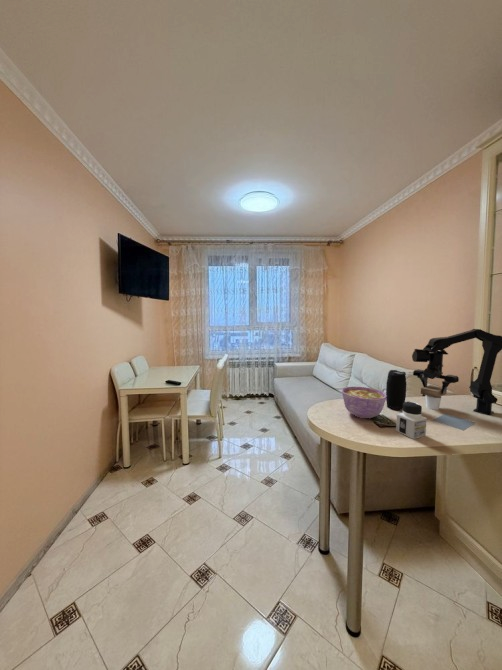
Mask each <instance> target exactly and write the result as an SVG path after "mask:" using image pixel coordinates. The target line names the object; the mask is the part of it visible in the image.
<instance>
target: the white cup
mask: <svg viewBox="0 0 502 670" xmlns="http://www.w3.org/2000/svg"><path fill="white" fill-rule="evenodd" d="M441 401H442V396H440V397H433V396H429V395H425V408H427V409H429V410H433V411H434V410H435V411H439V410H440V407H441Z"/></svg>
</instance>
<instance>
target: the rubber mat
mask: <svg viewBox="0 0 502 670" xmlns="http://www.w3.org/2000/svg"><path fill="white" fill-rule="evenodd" d="M431 421H433V422H435V423H438V424H442V425H445V426H449V427H452V428H455V429H458V430H461V431H465V430H467V429H469V428H470V427H471V426H474V424H477V422H476V421H472V420H469V419H466V418H463V417H459V416H455V415H452V414H448V413H443V414H442V415H439V416H437V417H435V418H433V419H431Z"/></svg>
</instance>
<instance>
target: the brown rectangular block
mask: <svg viewBox="0 0 502 670" xmlns="http://www.w3.org/2000/svg"><path fill="white" fill-rule="evenodd" d="M447 388H448V387H447ZM447 388H446V390H445V392H444V393H443V394H442V386H438V385H437V386H436V385H433V384H429V385H427V386H426V387H423V386H422V387H421V388H420V394H421V395H425V396H426V395H429V396H433V397H440V396H441V397H442V396H445V395H447V390H448V389H447Z"/></svg>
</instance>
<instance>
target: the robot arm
mask: <svg viewBox="0 0 502 670" xmlns="http://www.w3.org/2000/svg"><path fill="white" fill-rule="evenodd" d="M472 339H473V340H474V339H476V340H478V341H481V342H482V343H481V346H482V348H483V355H482V358H481V359H482V360H481V362H480V367H479V371H478V374H477V378H476V379H474V380H471V381H470V385H469V387H468V389H469V391H470V393H471V394H472V396H473V398H476V404H475V405H476V407H475V408H474V409H473V412H476V413H481V414H485V415H487V416H489V415H492V414H494V413H495V411H492V409H493V408H492V407H493V404H497V402H498V398H497V397H496V396H495V395H494V394H493V386H492V383H491V379H492V377H493V376H492V375H493V371H494V368H495V364H496V360H497V356H498V354H499V353H500V352H501V351H502V335H498V334H493V333H491V332H487V331H484V330H483V329H481V328H480V329H478V328H473V329H471V330H467V331H463V332H459V333H456V334H453V335H449V336H443V337H442V336H441V337H433V338H430V339H429V341H428V343H427V344H426V345H425V346H424V348H423V349H421V348H420V349H419V348H414V350H413V352H412V354H411V358H412V361H413V362H416V363H428V364H427V366H426V368H425V369H414V370H413V372H412V375H413V376H415V377H416V378H418V379H419V380H420V382H421V383H422V388H423V387H426V386H428V380H429V379H431V380H434V379H441V384H442V386H441V387H442V394H443V393H444V392H445V390H446V388H448V387H449V385H450V384H456V383H459V382H460V380H459V379H460V378H459V376H458V375H453V374H447V375H443V367H444V364H443V359H444V355H449V353H448V352H447V351H446V350H445V349H447V348H450V347H451V346H452V345H454V344H458V343H462V342H466V341H469V340H472ZM442 380H443V381H442Z"/></svg>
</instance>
